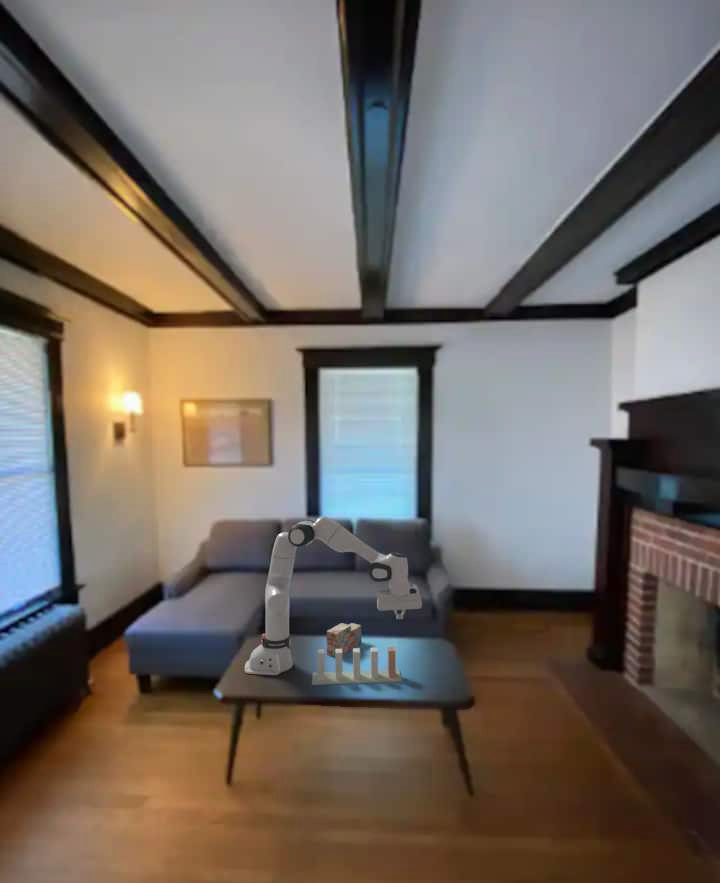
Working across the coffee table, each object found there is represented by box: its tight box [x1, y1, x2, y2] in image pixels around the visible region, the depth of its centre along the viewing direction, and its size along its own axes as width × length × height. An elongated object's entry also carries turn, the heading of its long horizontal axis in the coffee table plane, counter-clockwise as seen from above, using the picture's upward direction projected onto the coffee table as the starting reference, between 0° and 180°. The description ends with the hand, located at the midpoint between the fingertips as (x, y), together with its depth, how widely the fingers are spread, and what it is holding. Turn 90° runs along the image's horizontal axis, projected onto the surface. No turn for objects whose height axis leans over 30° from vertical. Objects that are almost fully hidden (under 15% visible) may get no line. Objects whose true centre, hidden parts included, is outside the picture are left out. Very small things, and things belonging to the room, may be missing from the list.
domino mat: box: [311, 669, 403, 686], centre depth 216 cm, size 40×10×1 cm, turn 93°
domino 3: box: [352, 647, 361, 679], centre depth 216 cm, size 3×4×12 cm
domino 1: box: [317, 648, 326, 680], centre depth 215 cm, size 3×4×12 cm
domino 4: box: [370, 647, 379, 678], centre depth 216 cm, size 3×4×12 cm
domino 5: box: [387, 646, 397, 678], centre depth 217 cm, size 3×4×12 cm
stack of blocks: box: [326, 622, 362, 659], centre depth 245 cm, size 21×6×12 cm, turn 144°
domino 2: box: [334, 649, 343, 680], centre depth 215 cm, size 3×4×12 cm
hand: (399, 618), depth 216 cm, fingers closed
